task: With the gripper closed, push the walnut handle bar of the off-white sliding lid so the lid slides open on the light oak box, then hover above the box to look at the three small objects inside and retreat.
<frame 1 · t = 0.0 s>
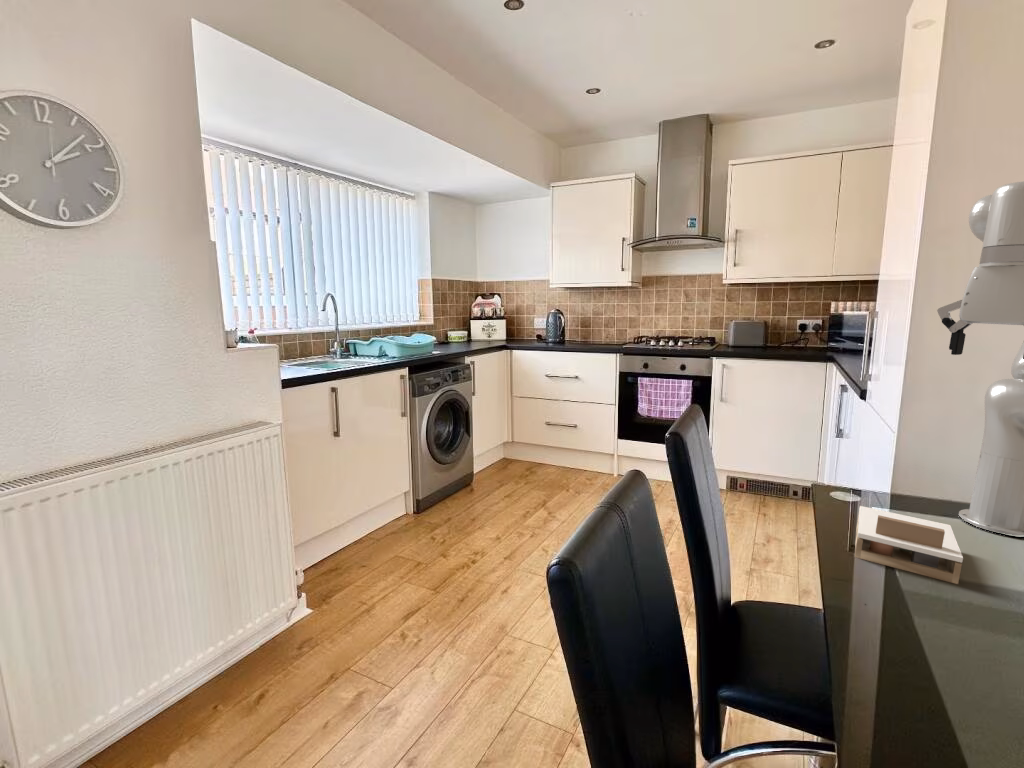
hand: (990, 357, 90), 37 cm above the table, tool pointing down, fingers open, 9 cm apart
glossy peach egg: (880, 553, 92), point 1 cm above the table, touching oak box
charcoal block: (923, 566, 87), point 1 cm above the table, touching oak box
sliding lid: (906, 523, 92), point 6 cm above the table, slide at 0.0 cm
sage ball: (904, 550, 93), point 1 cm above the table, touching oak box
oak box: (901, 555, 93), on the table
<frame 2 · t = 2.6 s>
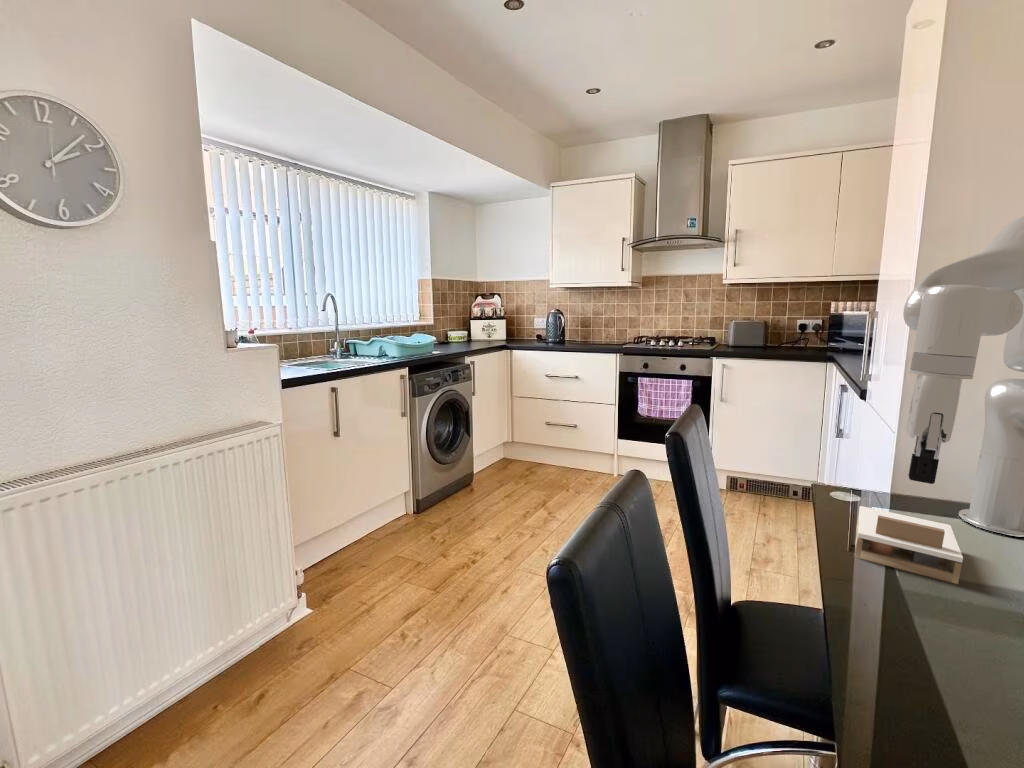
hand: (921, 480, 81), 17 cm above the table, tool pointing down, fingers closed
nothing on the table moved.
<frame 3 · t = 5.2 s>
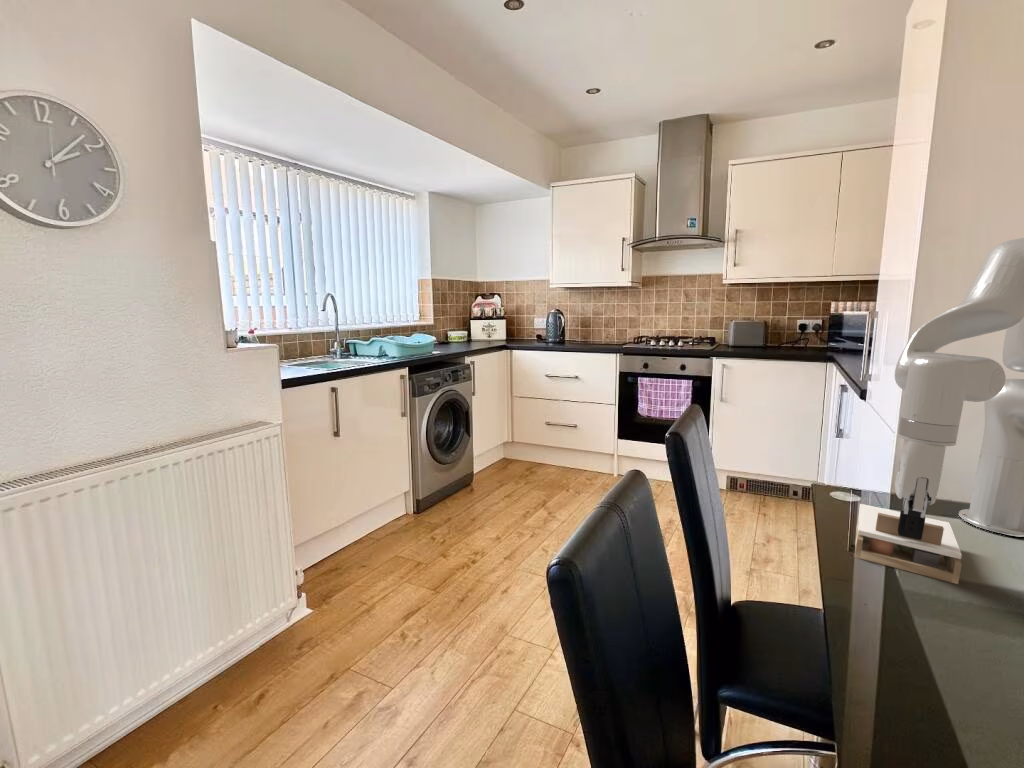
hand: (909, 535, 86), 6 cm above the table, tool pointing down, fingers closed
sliding lid: (906, 520, 93), point 6 cm above the table, slide at 1.5 cm, touching gripper
everything else where it was.
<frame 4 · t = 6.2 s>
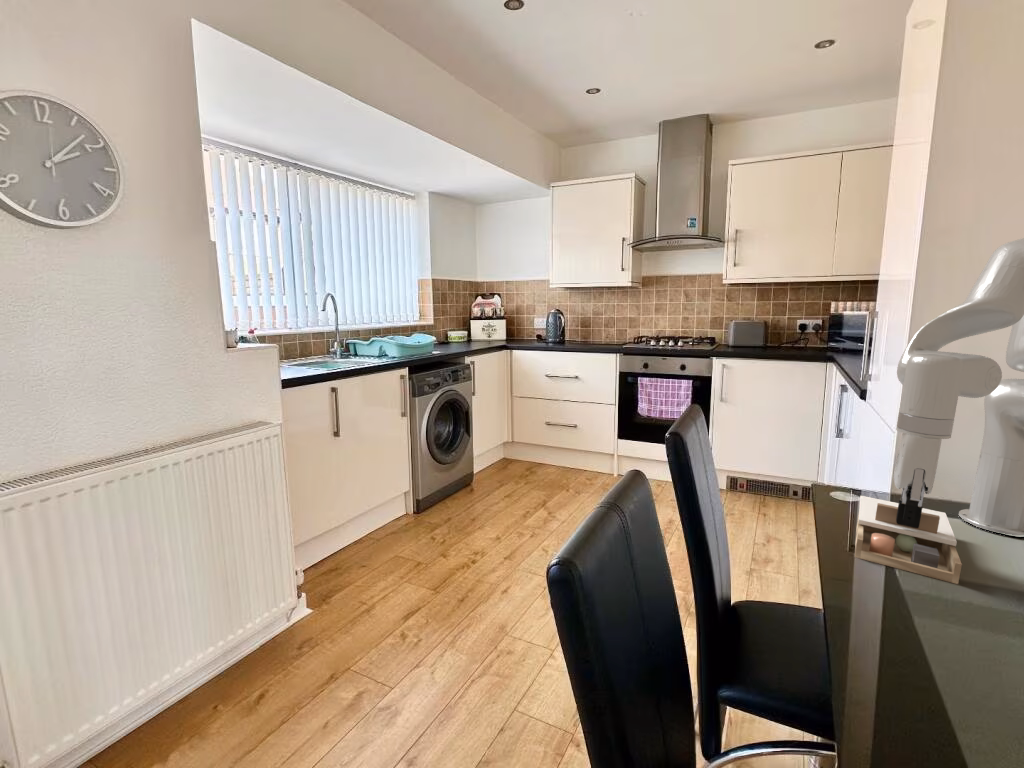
hand: (907, 524, 91), 6 cm above the table, tool pointing down, fingers closed
sliding lid: (904, 510, 98), point 6 cm above the table, slide at 7.3 cm, touching gripper
everything else where it was.
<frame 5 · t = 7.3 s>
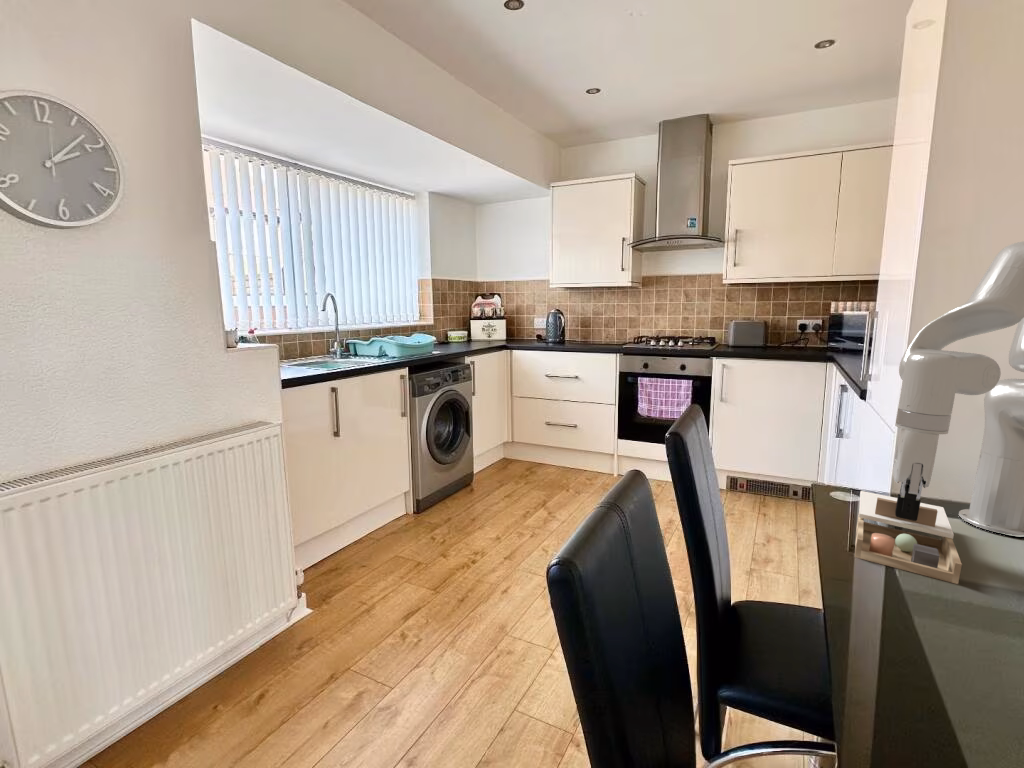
hand: (905, 517, 94), 6 cm above the table, tool pointing down, fingers closed
sliding lid: (903, 505, 101), point 6 cm above the table, slide at 10.9 cm, touching gripper
everything else where it was.
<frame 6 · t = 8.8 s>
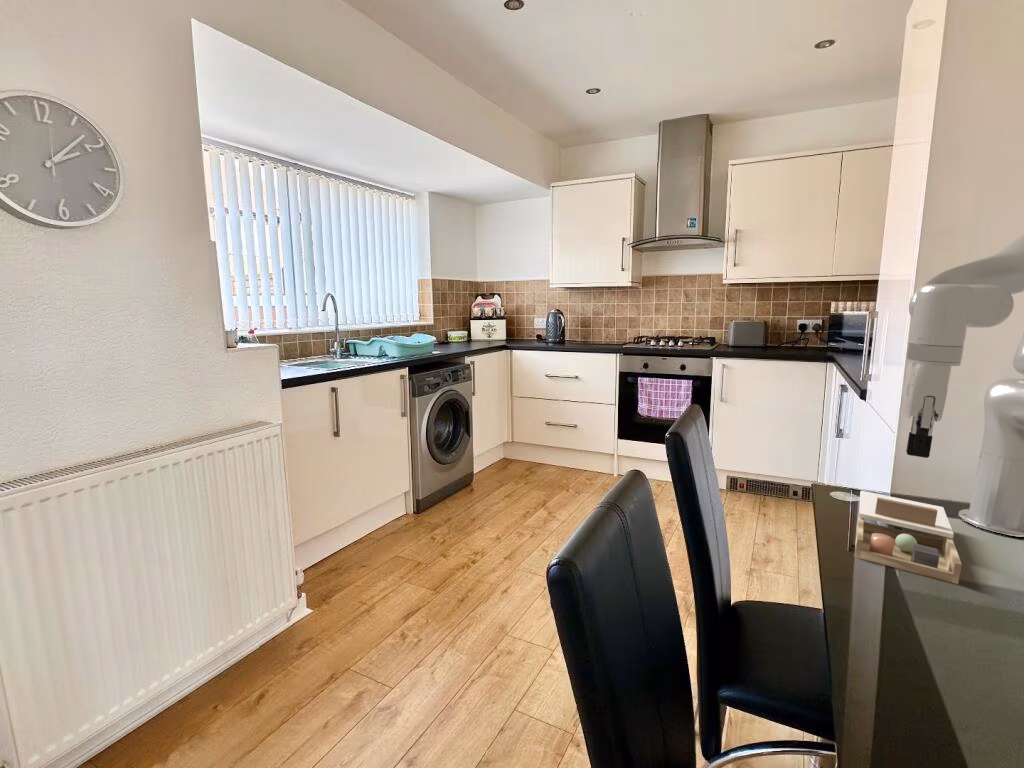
hand: (917, 455, 92), 18 cm above the table, tool pointing down, fingers closed
sliding lid: (903, 504, 101), point 6 cm above the table, slide at 11.1 cm
everything else where it was.
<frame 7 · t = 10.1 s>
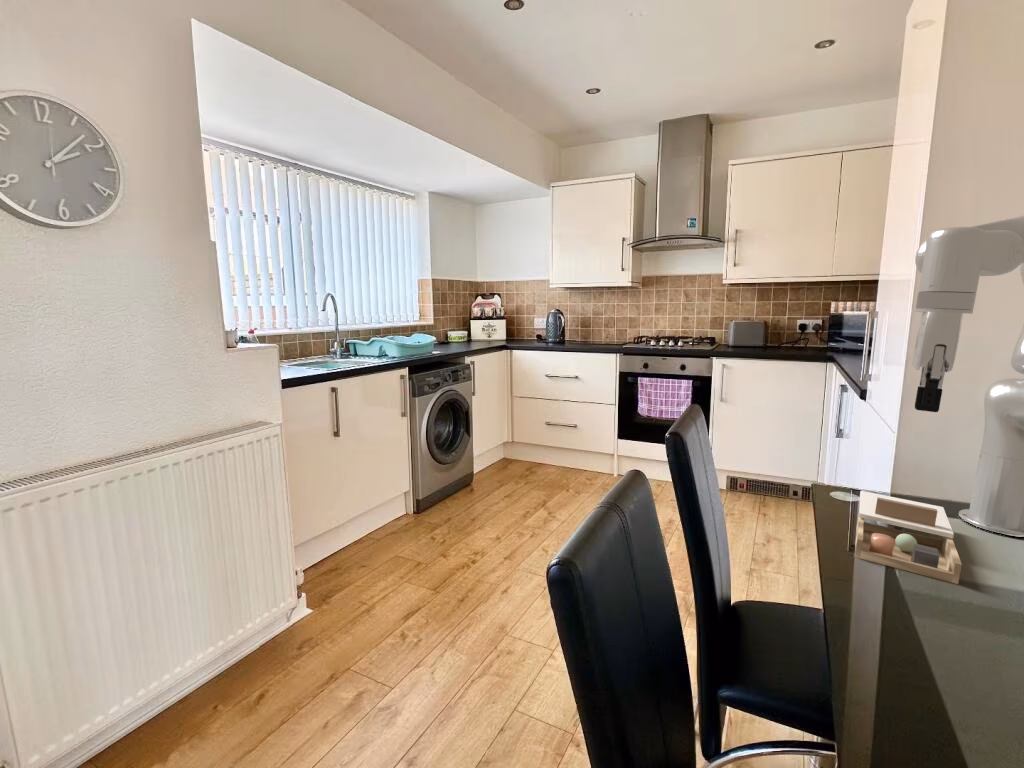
hand: (926, 410, 88), 27 cm above the table, tool pointing down, fingers closed
nothing on the table moved.
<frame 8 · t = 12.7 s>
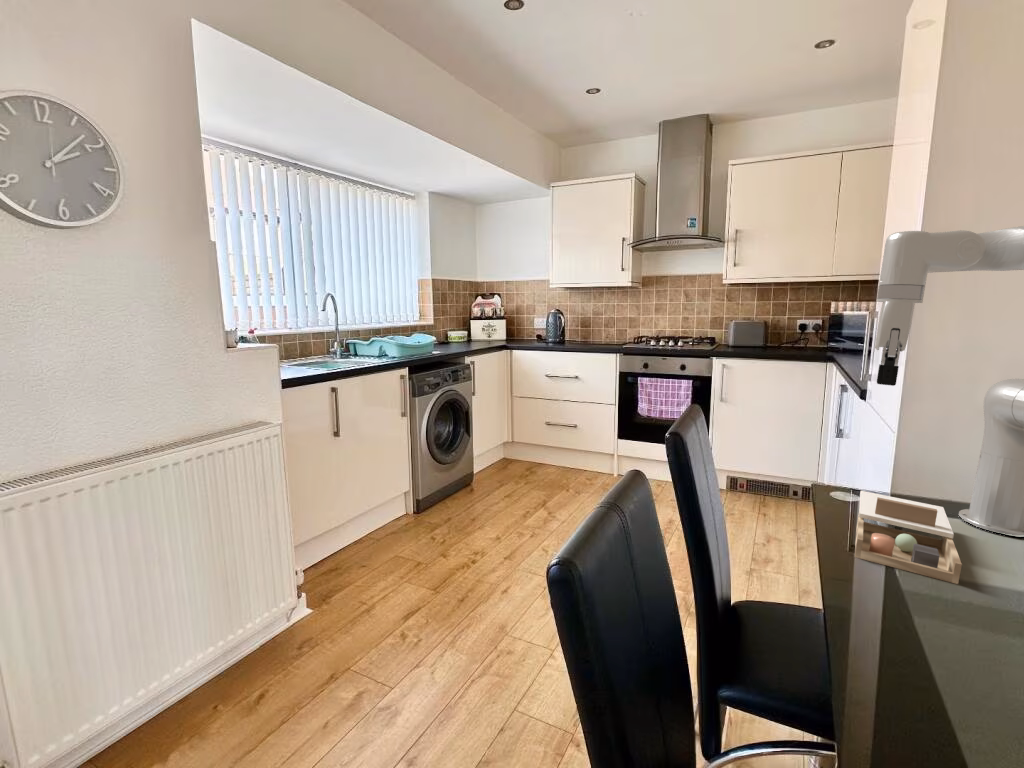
hand: (885, 384, 106), 29 cm above the table, tool pointing down, fingers closed
nothing on the table moved.
at the end: sliding lid slide at 11.1 cm; charcoal block moved 0.0 cm from its start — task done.
